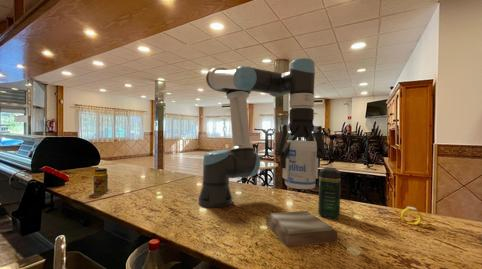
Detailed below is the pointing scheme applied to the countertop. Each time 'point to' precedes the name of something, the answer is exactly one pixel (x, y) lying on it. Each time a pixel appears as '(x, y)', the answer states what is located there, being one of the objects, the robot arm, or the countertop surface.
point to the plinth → (300, 228)
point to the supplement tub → (302, 164)
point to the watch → (411, 210)
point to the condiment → (100, 181)
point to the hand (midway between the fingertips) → (300, 178)
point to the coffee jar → (329, 192)
